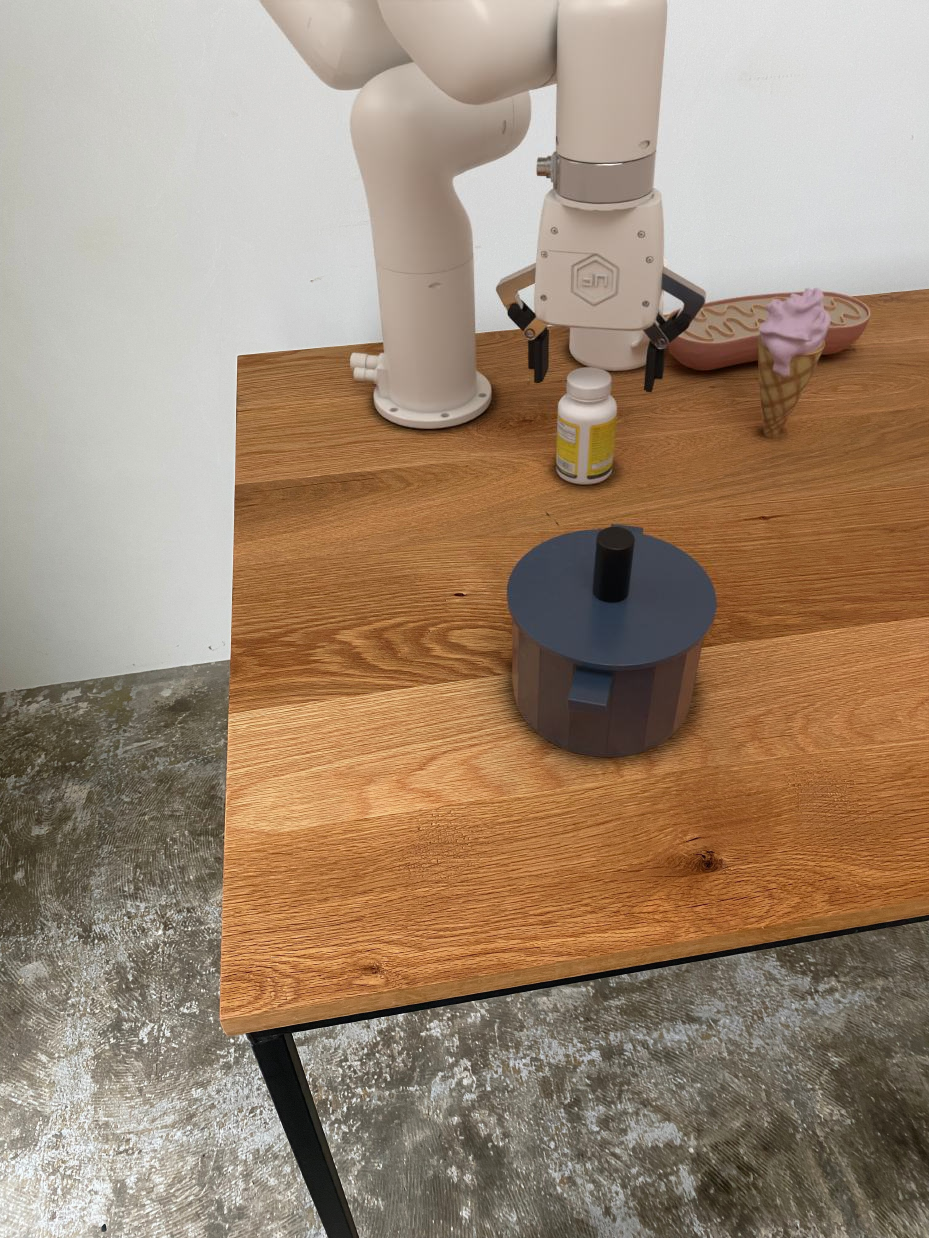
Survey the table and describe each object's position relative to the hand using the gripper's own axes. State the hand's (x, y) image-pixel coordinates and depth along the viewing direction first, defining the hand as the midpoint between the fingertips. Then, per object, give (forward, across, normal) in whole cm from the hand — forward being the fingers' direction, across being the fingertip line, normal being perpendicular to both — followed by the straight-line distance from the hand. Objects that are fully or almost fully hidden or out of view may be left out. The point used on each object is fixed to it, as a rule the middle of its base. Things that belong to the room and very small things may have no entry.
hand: (594, 380), depth 83 cm
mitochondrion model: (+10, +15, +27) cm, 32 cm away
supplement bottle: (+10, -1, 0) cm, 10 cm away
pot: (+10, +5, -28) cm, 30 cm away
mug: (+10, -1, +24) cm, 26 cm away
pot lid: (+1, +6, -28) cm, 28 cm away
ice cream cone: (+10, +16, +10) cm, 22 cm away
